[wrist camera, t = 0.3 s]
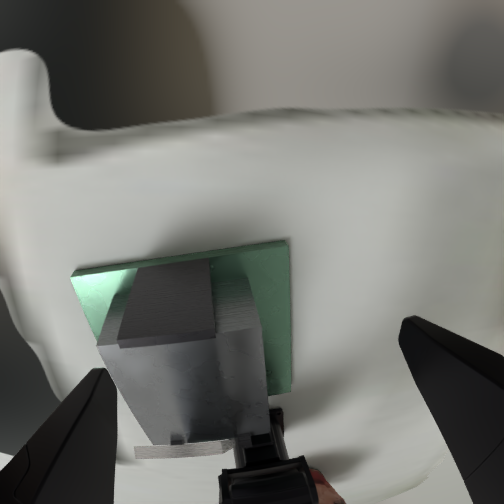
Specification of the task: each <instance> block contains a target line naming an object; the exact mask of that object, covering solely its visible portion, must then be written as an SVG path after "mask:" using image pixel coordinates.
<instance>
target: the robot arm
mask: <svg viewBox="0 0 504 504" xmlns="http://www.w3.org/2000/svg"><path fill="white" fill-rule="evenodd" d="M398 341H399V345H400V348H401V350H402V352H403V355H404V357H405V360H406V362H407V364H408V367H409V369H410V372H411V374H412V376H413V379H414V381H415V383H416V385H417V387H418V389H419V391H420V393H421V395H422V396H423V398H424V400H425V402H426V404H427V406H428V408H429V410H430V412H431V414H432V416H433V418H434V420H435V421H436V423H437V425H438V427H439V429H440V431H441V433H442V436H443V438H444V440H445V442H446V444H447V446H448V448H449V450H450V452H451V454H452V456H453V458H454V460H455V463H456V465H457V467H458V469H459V471H460V473H461V476H462V478H463V480H464V483H465V485H466V488H467V490H468V492H469V495H470V497H471V499H472V502H473V504H504V357H503V355H501V354H499V353H496V352H494V351H492V350H490V349H488V348H486V347H483V346H481V345H479V344H477V343H475V342H473V341H471V340H468V339H466V338H464V337H462V336H460V335H458V334H455V333H453V332H451V331H449V330H447V329H445V328H442V327H440V326H438V325H436V324H434V323H431V322H429V321H427V320H425V319H423V318H421V317H418V316H416V315H413V316H410V317H406V318H404V319H403V321H402V325H401V329H400V333H399V338H398ZM269 417H270V429H271V433H265V434H259V435H253V436H251V442H252V447H248V448H241V449H240V445H239V440H238V438H233V439H235V441H236V446H235V447H233V450H234V457H235V463H236V468H235V469H222V474H221V475H220V476H218V479H219V489H220V492H219V504H319V498H318V493H317V489H316V485H315V482H314V480H313V477H312V475H311V472H310V470H309V467H308V465H307V462H306V460H305V457H304V455H303V456H299V457H297V458H293V459H289V457H288V453H287V449H286V446H285V442H284V438H283V437H284V423H283V410H282V409H280V408H279V409H273V410H269ZM233 439H229V440H233ZM116 449H117V388H116V386H115V384H114V382H113V380H112V378H111V376H110V374H109V372H108V371H107V369H106V368H93V369H92V370H91V371H90V372H89V373H88V374H87V375H86V376H85V377H84V378H83V379H82V380H81V381H80V383H79V384H78V385H77V386H76V387H75V388H74V389H73V390H72V391H71V392H70V394H69V395H68V396H67V397H66V398H65V399H64V400H63V401H62V402H61V404H60V405H59V406H58V407H57V408H56V409H55V410H54V411H53V413H52V414H51V415H50V416H49V417H48V418H47V420H46V421H45V422H44V423H43V424H42V425H41V426H40V428H39V429H38V430H37V431H36V432H35V433H34V434H33V435H32V437H31V438H30V439H29V440H28V441H27V443H26V444H25V445H24V446H23V447H22V448H21V449H20V450H19V452H18V453H17V454H16V455H15V456H14V457H13V458H12V460H11V461H10V462H9V463H8V464H7V465H6V466H5V467H4V468H3V469H2V470H1V471H0V504H114V480H115V463H116Z"/></svg>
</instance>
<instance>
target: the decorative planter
mask: <svg viewBox="0 0 504 504" xmlns="http://www.w3.org/2000/svg"><path fill="white" fill-rule="evenodd" d="M309 470H310V472H311V475H312V477H313V480H314V482H315V485H316V489H317V493H318V498H319V504H346V503H345V501H344V499H343V498H342V497H341V496H340V495H338V493H337V492H336V491H335V490H334V488H333V487H332V486H331V485H330V484H329V483H328V482H327V481H326V480H325V478H324V476H323V474H322V473H321V472H320V471H318V470H315V469H309Z"/></svg>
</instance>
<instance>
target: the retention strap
mask: <svg viewBox="0 0 504 504" xmlns="http://www.w3.org/2000/svg"><path fill="white" fill-rule="evenodd" d="M235 446H236V441H235V439H233V440H225V441H217V442H208V443H197V444H185V445H169V446H137V447H134V450H135V458H136V459H153V458H179V457H194V456H206V455H215V454H223V453H225V452H227V451H228V450H230V449H232V448H233V447H235Z"/></svg>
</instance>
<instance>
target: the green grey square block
mask: <svg viewBox="0 0 504 504" xmlns="http://www.w3.org/2000/svg"><path fill="white" fill-rule="evenodd" d="M70 278H71V281H72V283H73V286H74V289H75V291H76V294H77V296H78V299H79V301H80V304H81V306H82V308H83V311H84V313H85V316H86V318H87V320H88V322H89V325H90V327H91V329H92V331H93V334H94V336H95V338H96V340H97V345H96V347H97V349H98V351H99V353H100V355H101V357H102V359H103V361H104V363H105V365H106V367H107V369H108V371H109V373H110V374H111V376H112V378H113V380H114V382H115V384H116V385H117V387H118V389H119V391H120V392H121V394H122V396H123V398H124V399H125V401H126V403H127V404H128V406H129V408H130V409H131V411H132V413H133V414H134V416H135V418H136V419H137V421H138V422H139V424H140V426H141V427H142V429H143V430H144V432H145V433H146V435H147V436H148V438H149V439H150V441H151V442H152V444H153V445H169V444H171V445H184V444H185V443H197V442H208V441H217V440H225V439H233V438H238V440H239V445H240V449H241V448H248V447H252V442H251V436H253V435H259V434H265V433H271V429H270V417H269V406H268V396H272V395H277V394H282V393H287V392H291V325H290V280H289V249H288V245H287V243H286V241H285V240H283V241H276V242H268V243H261V244H254V245H247V246H240V247H233V248H226V249H219V250H212V251H205V252H198V253H191V254H185V255H178V256H171V257H164V258H157V259H150V260H144V261H137V262H130V263H123V264H117V265H110V266H103V267H97V268H90V269H83V270H77V271H74V272H73V274H72V276H71V277H70Z"/></svg>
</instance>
